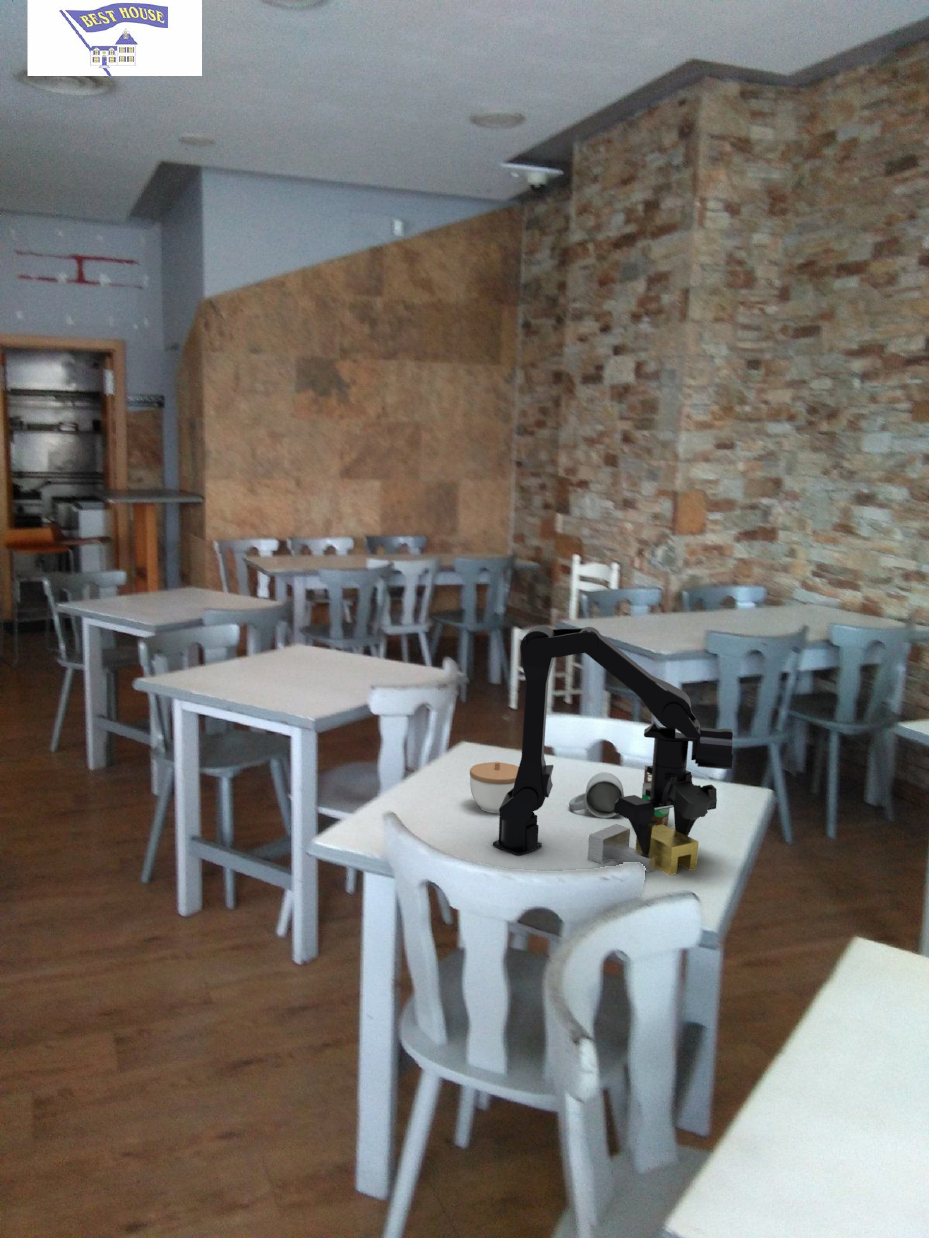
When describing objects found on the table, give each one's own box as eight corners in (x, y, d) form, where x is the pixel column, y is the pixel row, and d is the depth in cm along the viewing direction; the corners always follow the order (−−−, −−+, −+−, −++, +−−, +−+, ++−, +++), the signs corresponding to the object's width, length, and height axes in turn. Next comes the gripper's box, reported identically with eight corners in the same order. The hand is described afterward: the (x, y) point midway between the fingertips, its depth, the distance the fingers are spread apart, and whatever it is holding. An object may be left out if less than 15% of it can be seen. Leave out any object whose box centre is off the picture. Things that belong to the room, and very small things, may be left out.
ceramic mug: (622, 805, 210) (623, 768, 209) (623, 819, 202) (624, 781, 201) (569, 802, 212) (570, 766, 210) (568, 816, 204) (569, 778, 202)
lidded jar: (493, 795, 214) (495, 750, 213) (534, 808, 207) (536, 763, 205) (457, 807, 206) (458, 761, 205) (497, 821, 199) (499, 774, 198)
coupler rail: (587, 858, 183) (589, 834, 182) (614, 847, 188) (616, 823, 188) (638, 877, 175) (639, 852, 175) (664, 864, 181) (666, 840, 180)
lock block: (635, 856, 185) (636, 829, 184) (661, 850, 188) (662, 824, 187) (670, 875, 177) (671, 847, 176) (696, 868, 180) (698, 841, 179)
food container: (673, 839, 193) (676, 787, 192) (639, 835, 194) (642, 783, 193) (673, 816, 205) (677, 767, 203) (641, 813, 206) (644, 764, 205)
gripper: (660, 783, 168) (653, 876, 170) (743, 770, 177) (735, 858, 180) (615, 764, 177) (609, 852, 179) (697, 753, 187) (690, 837, 189)
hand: (662, 850), depth 182 cm, fingers open, 7 cm apart
